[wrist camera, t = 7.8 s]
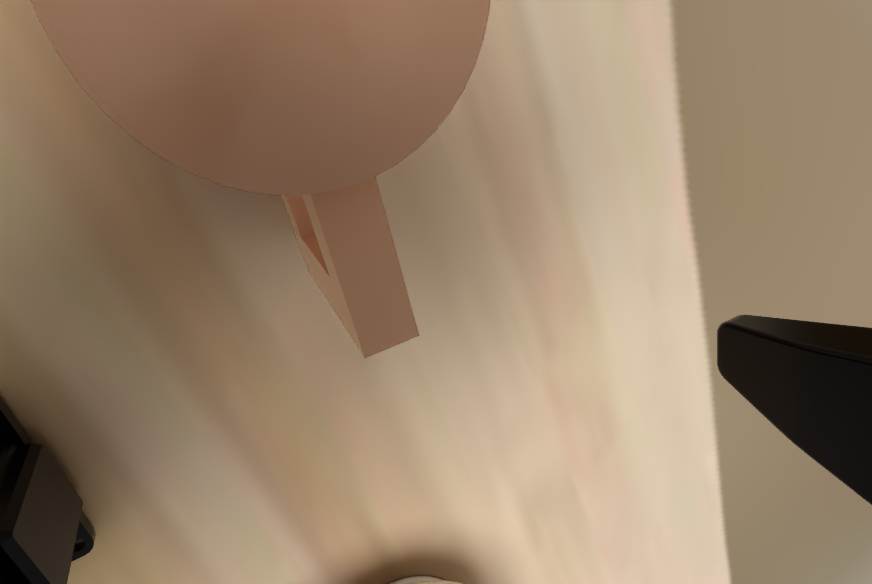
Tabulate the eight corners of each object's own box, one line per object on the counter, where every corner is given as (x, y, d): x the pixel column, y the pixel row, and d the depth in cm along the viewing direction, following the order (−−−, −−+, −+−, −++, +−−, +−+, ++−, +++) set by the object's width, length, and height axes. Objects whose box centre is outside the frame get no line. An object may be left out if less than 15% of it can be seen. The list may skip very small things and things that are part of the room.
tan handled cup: (211, 274, 18) (241, 435, 10) (43, -105, 13) (-130, -326, 6) (399, 207, 20) (547, 303, 12) (305, -149, 15) (444, -367, 7)
